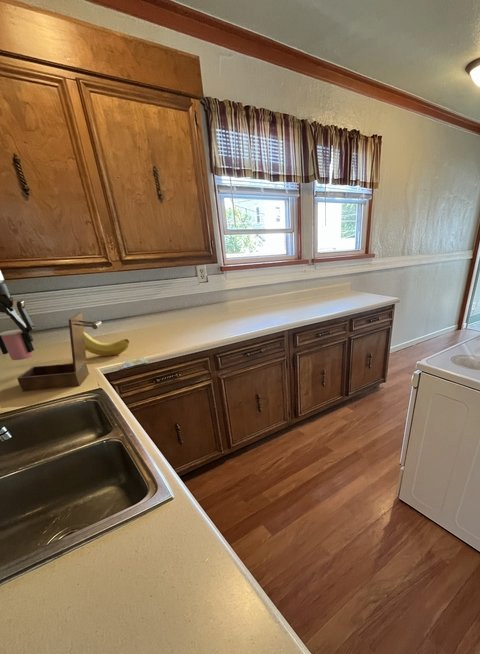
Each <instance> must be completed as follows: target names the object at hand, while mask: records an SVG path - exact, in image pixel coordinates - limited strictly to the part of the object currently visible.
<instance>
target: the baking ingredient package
mask: <svg viewBox="0 0 480 654" xmlns="http://www.w3.org/2000/svg"><path fill="white" fill-rule="evenodd" d="M123 363H124V364H123ZM147 363H149V360H147V359H145V358H144V357H139V358H138V357H137V358H134V359H131V360H126V361H122V362H120V364H122V365H121V367H119V370H122V369H126V368H130V367H134V366H139V365H143V364H147Z"/></svg>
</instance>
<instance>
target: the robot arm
mask: <svg viewBox="0 0 480 654" xmlns="http://www.w3.org/2000/svg"><path fill="white" fill-rule="evenodd" d="M4 281H5V277H4V275H3V272H2V270H1V269H0V313H2V314H6V315H7V316H9V318H10V319H11V320H12V321H13V322H14V324H15V325H17V326H16V327H18V328H19V330H22V332H23V333H22V334H21V335H22V338H23V340H24V343H25V345H26V348H27V350H28V352H32V353H33V352H34V351H35V348H34V346H33V343H32V342H34V338H33V336H32V333H31V332H32V331H34V330H36V325H35V324H34V322H33V320H32V318H31V316H30V314H29V312H28V310H27V308H26V304H25V300H23V299H21V300H16V299H14V298H13V297H12V296H11V293H10V290H9V288H8V285H7V283H5V282H4ZM13 306H15V308H17V311H18V313H19V315H18V313H17V311H16V309H15V308H14V307H13ZM0 350H1V353H2V355H7V354H9V353H8V350H7V348H6V346H5V344H4V342H3V339H2V337H1V336H0Z"/></svg>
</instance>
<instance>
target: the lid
mask: <svg viewBox="0 0 480 654" xmlns="http://www.w3.org/2000/svg"><path fill="white" fill-rule="evenodd" d="M83 317H84V316H83V312H79V313H77V314H75V315H73V316H71V317H70V318H68V325H69V326H68V328H69V335H70V336H69V337H70V338H69V339H70V349H71V357H72V363H73V368H74V372H77V371H78V369H79V368H80V367H81V366H82V365H83V364H84V363H85V362H87V352H86V350H85V340H84V332H85V330H84V327H89V328H91V329H93V330H97V329H98V328H99V327H101V326H102V324H103V323H102V321H101V320H96V321H91V320H84V319H83Z"/></svg>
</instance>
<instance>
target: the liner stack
mask: <svg viewBox="0 0 480 654" xmlns="http://www.w3.org/2000/svg"><path fill="white" fill-rule="evenodd" d="M22 333H23V332H22V330H21V329H11V330H10V329H9V330H6V331H1V332H0V336H1V337H2V339H3V342H4V344H5V346H6V348H7V350H8V353H7V354H8V355H9V357H10V359H11V360H12V361H21V360H25V359H29V358H31V357H33V356H34V355H33V351H32V352H28V350H27V348H26V345H25V343H24V340H23V338H22V335H21V334H22Z"/></svg>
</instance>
